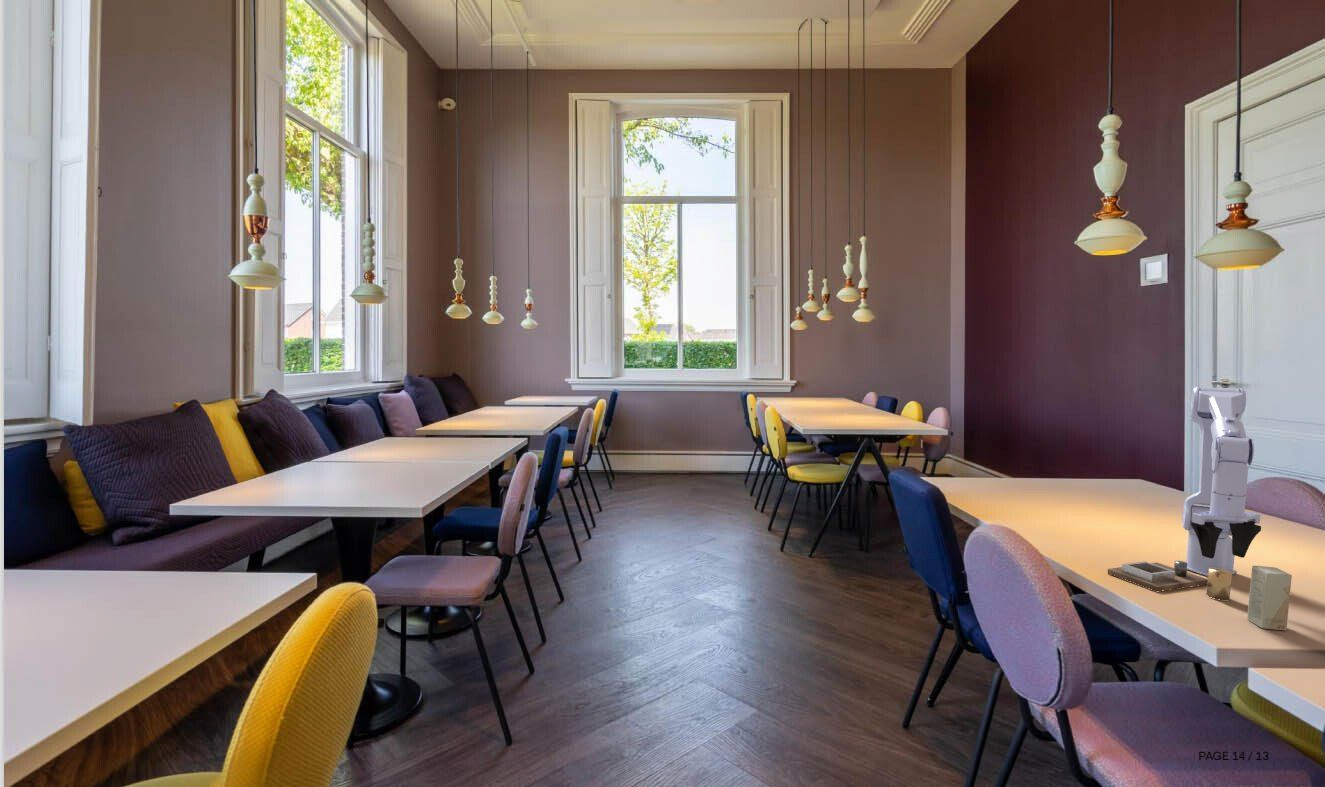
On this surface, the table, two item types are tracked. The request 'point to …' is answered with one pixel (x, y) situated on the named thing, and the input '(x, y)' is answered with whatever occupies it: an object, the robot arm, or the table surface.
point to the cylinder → (1219, 583)
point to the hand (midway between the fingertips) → (1223, 556)
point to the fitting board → (1158, 575)
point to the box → (1269, 597)
